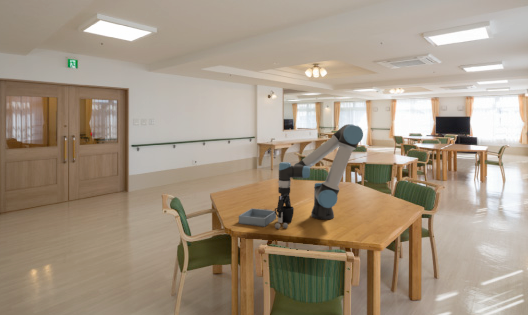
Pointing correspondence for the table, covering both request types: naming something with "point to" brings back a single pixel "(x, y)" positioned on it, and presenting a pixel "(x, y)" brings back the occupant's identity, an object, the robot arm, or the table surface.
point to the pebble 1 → (277, 225)
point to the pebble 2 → (285, 225)
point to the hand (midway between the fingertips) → (283, 219)
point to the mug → (287, 214)
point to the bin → (257, 217)
